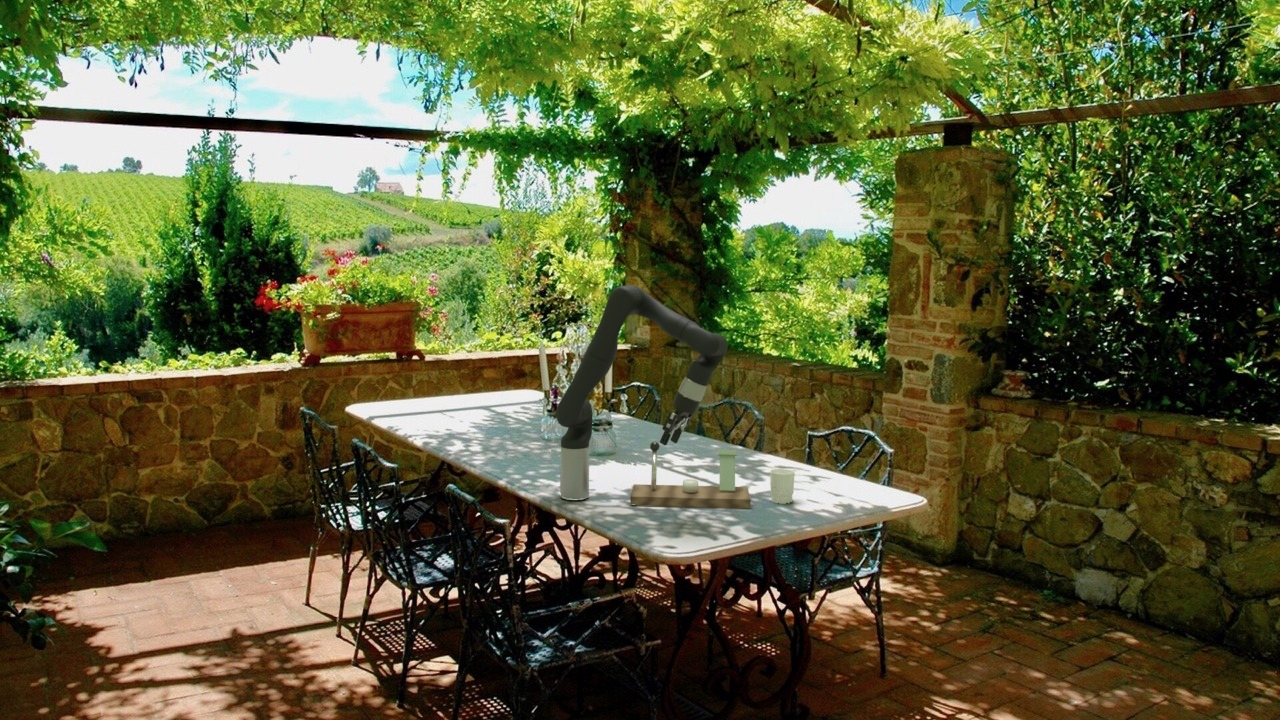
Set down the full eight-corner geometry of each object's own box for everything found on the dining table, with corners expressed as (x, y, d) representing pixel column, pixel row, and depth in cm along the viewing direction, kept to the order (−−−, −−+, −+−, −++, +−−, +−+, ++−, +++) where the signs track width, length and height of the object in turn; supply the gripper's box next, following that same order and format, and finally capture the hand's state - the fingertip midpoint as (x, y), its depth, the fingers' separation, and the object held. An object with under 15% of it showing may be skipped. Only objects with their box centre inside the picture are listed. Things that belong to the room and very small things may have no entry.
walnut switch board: (630, 505, 307) (630, 496, 307) (633, 493, 323) (633, 484, 323) (750, 508, 305) (750, 499, 305) (747, 495, 321) (747, 487, 321)
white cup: (796, 500, 317) (797, 470, 315) (790, 505, 309) (790, 475, 308) (773, 497, 320) (774, 467, 319) (766, 502, 313) (767, 472, 312)
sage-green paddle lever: (718, 489, 313) (718, 449, 317) (717, 491, 315) (718, 450, 319) (736, 490, 312) (736, 449, 317) (736, 491, 314) (736, 451, 318)
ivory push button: (682, 492, 311) (682, 482, 311) (682, 488, 316) (682, 479, 316) (698, 492, 311) (698, 483, 311) (698, 489, 316) (698, 479, 316)
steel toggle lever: (648, 487, 313) (649, 440, 318) (648, 489, 316) (650, 442, 321) (658, 488, 313) (659, 440, 318) (658, 490, 316) (659, 443, 321)
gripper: (687, 388, 296) (666, 435, 299) (670, 389, 283) (648, 438, 285) (708, 399, 293) (687, 447, 296) (692, 401, 280) (669, 450, 283)
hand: (668, 443), depth 291 cm, fingers open, 8 cm apart
